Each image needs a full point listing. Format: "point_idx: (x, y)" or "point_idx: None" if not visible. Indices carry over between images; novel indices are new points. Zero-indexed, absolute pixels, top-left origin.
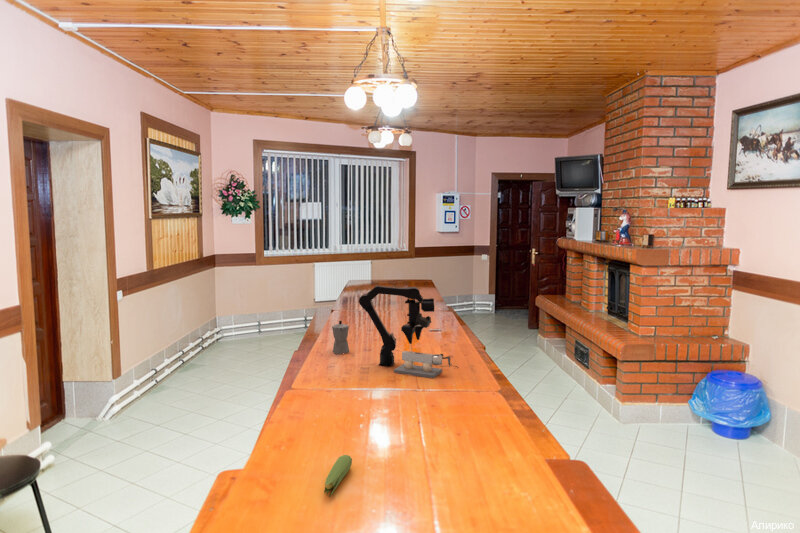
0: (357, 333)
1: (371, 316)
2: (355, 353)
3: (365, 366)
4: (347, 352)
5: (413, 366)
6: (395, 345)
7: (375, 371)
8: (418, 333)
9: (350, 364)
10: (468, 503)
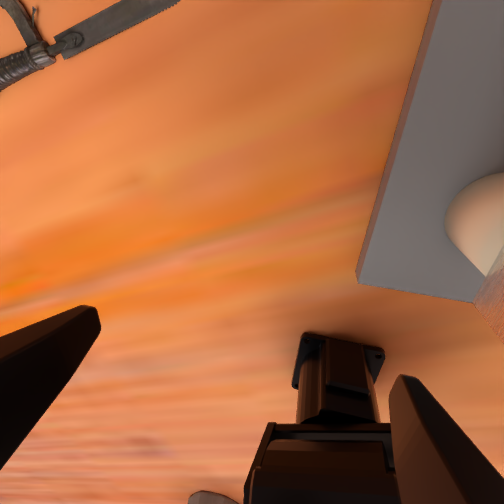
0: (16, 474)
1: None
2: (211, 475)
3: None
4: (219, 497)
5: (432, 188)
6: (398, 491)
7: (499, 399)
8: None
9: None
10: None
